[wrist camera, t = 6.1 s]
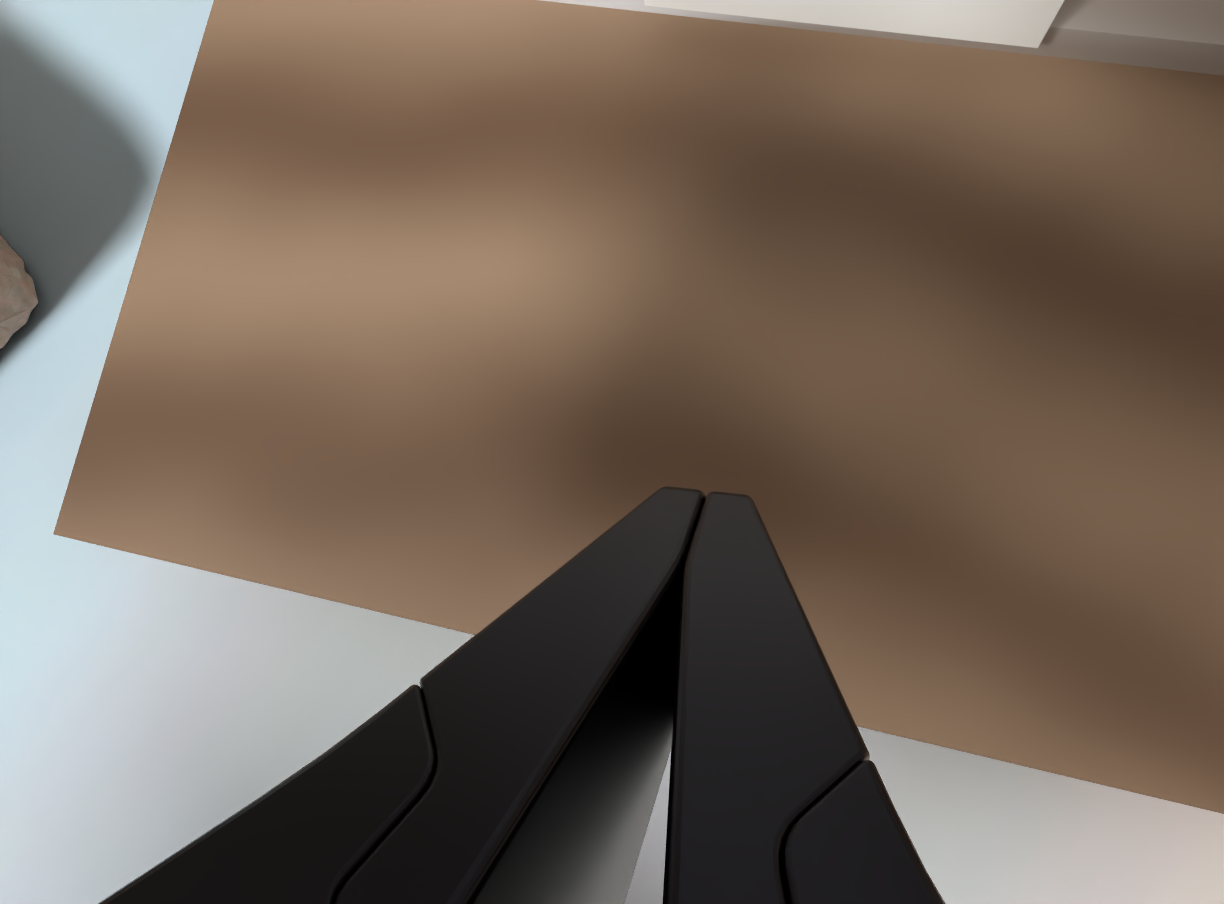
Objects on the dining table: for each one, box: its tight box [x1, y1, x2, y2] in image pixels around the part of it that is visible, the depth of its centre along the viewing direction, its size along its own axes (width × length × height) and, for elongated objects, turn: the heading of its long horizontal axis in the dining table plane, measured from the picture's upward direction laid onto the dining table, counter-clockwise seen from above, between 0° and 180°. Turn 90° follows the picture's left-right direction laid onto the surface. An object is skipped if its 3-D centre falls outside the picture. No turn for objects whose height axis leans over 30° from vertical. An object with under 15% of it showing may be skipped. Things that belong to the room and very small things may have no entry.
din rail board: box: [54, 0, 1224, 814], centre depth 15 cm, size 18×26×4 cm
